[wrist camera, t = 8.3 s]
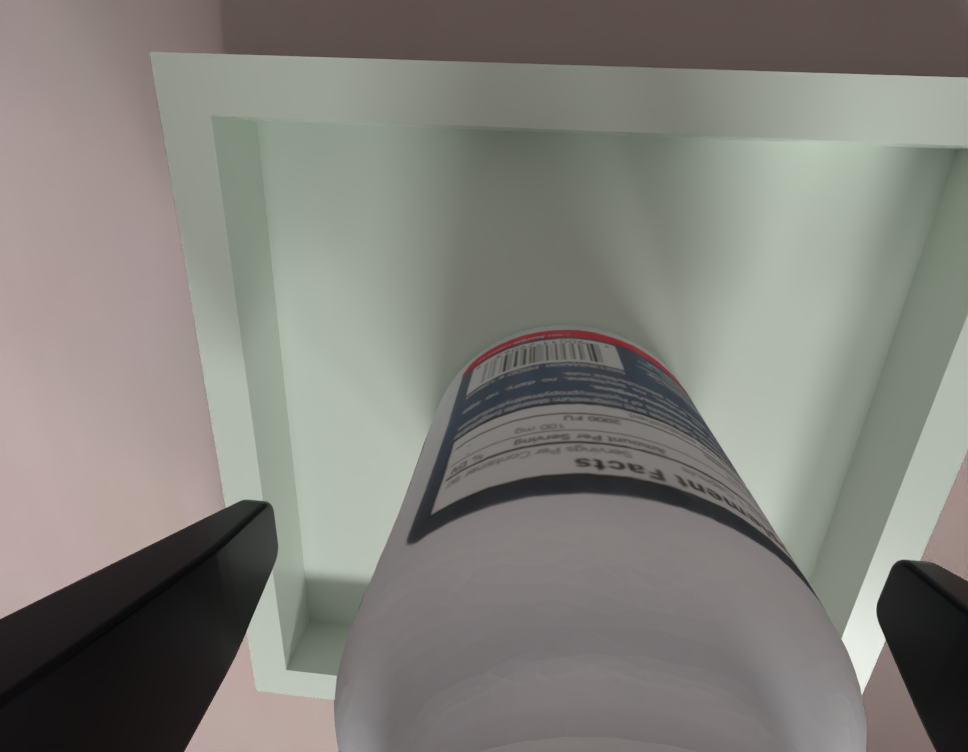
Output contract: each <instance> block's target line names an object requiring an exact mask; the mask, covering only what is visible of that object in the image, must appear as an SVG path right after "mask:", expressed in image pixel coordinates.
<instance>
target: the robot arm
mask: <svg viewBox="0 0 968 752" xmlns="http://www.w3.org/2000/svg"><path fill="white" fill-rule="evenodd" d="M277 555H278V539H277V531H276V523H275V515H274V509H273V506H272V504H270V503H269V502H267V501H259V500H248V499H245V500H241V501H239V502H237V503H235V504H233V505H231V506H229V507H227V508H225V509H223V510H221V511H219V512H217V513H215V514H213V515H210V516H208V517H206V518H204V519H202V520H200V521H198V522H196V523H194V524H192V525H190V526H188V527H186V528H184V529H182V530H180V531H178V532H176V533H174V534H172V535H170V536H168V537H166V538H164V539H162V540H160V541H158V542H156V543H154V544H152V545H150V546H148V547H146V548H144V549H142V550H140V551H137V552H135V553H133V554H131V555H129V556H127V557H125V558H123V559H121V560H119V561H117V562H115V563H113V564H111V565H109V566H107V567H105V568H103V569H101V570H99V571H97V572H95V573H93V574H91V575H89V576H87V577H85V578H83V579H81V580H79V581H77V582H75V583H73V584H71V585H69V586H66V587H64V588H62V589H60V590H58V591H56V592H54V593H52V594H50V595H48V596H46V597H44V598H42V599H40V600H38V601H36V602H34V603H32V604H30V605H28V606H26V607H24V608H22V609H20V610H18V611H16V612H14V613H12V614H10V615H8V616H6V617H4V618H2V619H0V752H184V751H185V749H186V748H187V746H188V744H189V742H190V740H191V738H192V737H193V735H194V733H195V731H196V729H197V727H198V725H199V724H200V722H201V720H202V718H203V716H204V714H205V713H206V711H207V709H208V707H209V705H210V703H211V702H212V700H213V698H214V696H215V694H216V692H217V691H218V689H219V687H220V685H221V683H222V681H223V680H224V678H225V676H226V674H227V672H228V670H229V668H230V666H231V664H232V662H233V660H234V659H235V657H236V654H237V652H238V650H239V648H240V645H241V643H242V641H243V639H244V636H245V634H246V632H247V629H248V627H249V624H250V622H251V620H252V617H253V615H254V612H255V610H256V608H257V605H258V603H259V600H260V598H261V596H262V593H263V591H264V589H265V586H266V584H267V581H268V579H269V577H270V574H271V572H272V569H273V567H274V565H275V562H276V559H277ZM876 614H877V619H878V622H879V625H880V627H881V630H882V632H883V634H884V637H885V639H886V641H887V644H888V646H889V648H890V651H891V653H892V655H893V657H894V660H895V662H896V664H897V667H898V669H899V671H900V674H901V676H902V678H903V680H904V683H905V685H906V687H907V690H908V692H909V694H910V697H911V699H912V701H913V704H914V706H915V708H916V710H917V713H918V715H919V717H920V719H921V722H922V724H923V726H924V728H925V730H926V732H927V734H928V736H929V738H930V740H931V742H932V744H933V746H934V748H935V750H936V752H968V581H966V580H964V579H962V578H961V577H959V576H957V575H955V574H953V573H951V572H950V571H948V570H946V569H944V568H942V567H940V566H939V565H937V564H934V563H931V562H926V561H916V560H899V561H897V562H896V563H894V564H893V566H892V567H891V570H890V572H889V575H888V577H887V579H886V582H885V584H884V587H883V589H882V592H881V594H880V597H879V599H878V602H877V607H876Z"/></svg>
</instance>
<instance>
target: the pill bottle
mask: <svg viewBox="0 0 968 752" xmlns="http://www.w3.org/2000/svg"><path fill="white" fill-rule="evenodd" d="M334 713H335V729H336V737H337V743H338V749H339V752H866V743H867V723H866V715H865V710H864V704H863V699H862V694H861V689H860V685H859V682H858V678H857V675H856V672H855V669H854V666H853V664H852V661H851V658H850V656H849V653H848V651H847V649H846V647H845V645H844V643H843V641H842V639H841V638H840V636H839V634H838V632H837V630H836V629H835V627H834V625H833V623H832V621H831V619H830V618H829V616H828V614H827V612H826V610H825V608H824V607H823V605H822V604H821V602H820V600H819V599H818V597H817V596H816V594H815V592H814V591H813V589H812V588H811V586H810V584H809V583H808V581H807V579H806V578H805V576H804V575H803V573H802V572H801V570H800V569H799V567H798V566H797V564H796V563H795V561H794V560H793V558H792V557H791V555H790V553H789V552H788V550H787V548H786V547H785V545H784V544H783V543H782V541H781V540H780V538H779V537H778V535H777V534H776V532H775V531H774V529H773V527H772V526H771V524H770V523H769V521H768V519H767V518H766V516H765V515H764V513H763V511H762V510H761V508H760V507H759V505H758V504H757V502H756V500H755V499H754V497H753V496H752V494H751V493H750V491H749V490H748V488H747V487H746V485H745V483H744V482H743V480H742V479H741V477H740V476H739V474H738V473H737V471H736V470H735V468H734V466H733V465H732V463H731V461H730V460H729V458H728V457H727V455H726V454H725V452H724V451H723V449H722V448H721V446H720V444H719V443H718V441H717V440H716V438H715V437H714V435H713V434H712V432H711V431H710V429H709V427H708V426H707V424H706V423H705V421H704V419H703V418H702V416H701V415H700V413H699V412H698V410H697V408H696V407H695V405H694V403H693V402H692V400H691V398H690V397H689V395H688V393H687V392H686V390H685V389H684V388H683V387H682V386H681V384H680V383H679V381H678V380H677V379H676V377H675V376H674V375H673V373H672V372H671V371H670V370H669V369H668V368H667V367H666V366H665V365H664V364H663V363H662V362H661V361H660V360H658V359H657V358H656V357H655V356H654V355H652V354H651V353H650V352H648V351H647V350H645V349H644V348H642V347H641V346H639V345H638V344H636V343H634V342H632V341H631V340H628V339H626V338H624V337H622V336H619V335H616V334H614V333H611V332H608V331H604V330H601V329H596V328H591V327H585V326H574V325H555V326H544V327H539V328H534V329H529V330H525V331H522V332H519V333H516V334H513V335H511V336H508V337H506V338H504V339H501V340H500V341H498V342H496V343H494V344H493V345H491V346H489V347H488V348H486V349H485V350H483V351H482V352H481V353H479V354H478V355H477V356H475V357H474V358H473V359H472V360H471V361H470V362H469V363H467V364H466V365H465V366H464V368H463V369H462V370H461V371H460V372H459V373H458V374H457V375H456V377H455V378H454V379H453V381H452V382H451V383H450V385H449V386H448V388H447V390H446V392H445V393H444V395H443V397H442V399H441V401H440V404H439V406H438V408H437V410H436V413H435V416H434V418H433V421H432V424H431V426H430V429H429V431H428V434H427V437H426V439H425V442H424V444H423V447H422V450H421V453H420V456H419V459H418V462H417V464H416V467H415V470H414V473H413V476H412V479H411V481H410V484H409V487H408V490H407V492H406V495H405V498H404V501H403V503H402V506H401V508H400V511H399V514H398V516H397V518H396V521H395V523H394V525H393V528H392V530H391V533H390V535H389V538H388V540H387V543H386V545H385V547H384V549H383V552H382V554H381V556H380V559H379V561H378V564H377V566H376V569H375V571H374V574H373V576H372V578H371V581H370V583H369V586H368V588H367V590H366V592H365V594H364V596H363V598H362V601H361V603H360V606H359V609H358V612H357V614H356V617H355V619H354V622H353V625H352V627H351V630H350V633H349V635H348V638H347V641H346V645H345V648H344V651H343V654H342V658H341V661H340V666H339V670H338V675H337V680H336V690H335V700H334Z"/></svg>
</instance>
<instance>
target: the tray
mask: <svg viewBox="0 0 968 752" xmlns="http://www.w3.org/2000/svg"><path fill="white" fill-rule="evenodd" d="M149 53H150V59H151V65H152V71H153V77H154V83H155V89H156V95H157V101H158V107H159V113H160V119H161V125H162V131H163V137H164V143H165V149H166V155H167V161H168V167H169V173H170V179H171V185H172V191H173V197H174V203H175V209H176V215H177V221H178V227H179V233H180V239H181V244H182V250H183V256H184V262H185V268H186V274H187V280H188V286H189V292H190V298H191V304H192V310H193V316H194V322H195V328H196V334H197V340H198V346H199V352H200V358H201V364H202V370H203V376H204V382H205V388H206V394H207V400H208V406H209V412H210V418H211V424H212V430H213V436H214V442H215V448H216V454H217V459H218V465H219V471H220V477H221V483H222V489H223V495H224V501H225V507H226V508H227V507H229V506H231V505H233V504H235V503H237V502H239V501H241V500H245V499H248V500H259V501H267V502H269V503H270V504H272V506H273V509H274V515H275V523H276V531H277V539H278V555H277V559H276V562H275V565H274V567H273V569H272V572H271V574H270V577H269V579H268V581H267V584H266V586H265V589H264V591H263V593H262V596H261V598H260V600H259V603H258V605H257V608H256V610H255V612H254V615H253V617H252V620H251V622H250V624H249V627H248V629H247V632H246V633H247V639H248V645H249V651H250V657H251V663H252V669H253V674H254V680H255V686H256V691H261V692H270V693H278V694H287V695H295V696H304V697H313V698H321V699H330V700H335V690H336V680H337V675H338V670H339V666H340V661H341V658H342V654H343V651H344V648H345V645H346V641H347V638H348V635H349V633H350V630H351V627H352V625H353V622H354V619H355V617H356V614H357V612H358V609H359V606H360V603H361V601H362V598H363V596H364V594H365V592H366V590H367V588H368V586H369V583H370V581H371V578H372V576H373V574H374V571H375V569H376V566H377V564H378V561H379V559H380V556H381V554H382V552H383V549H384V547H385V545H386V543H387V540H388V538H389V535H390V533H391V530H392V528H393V525H394V523H395V521H396V518H397V516H398V514H399V511H400V508H401V506H402V503H403V501H404V498H405V495H406V492H407V490H408V487H409V484H410V481H411V479H412V476H413V473H414V470H415V467H416V464H417V462H418V459H419V456H420V453H421V450H422V447H423V444H424V442H425V439H426V437H427V434H428V431H429V429H430V426H431V424H432V421H433V418H434V416H435V413H436V410H437V408H438V406H439V404H440V401H441V399H442V397H443V395H444V393H445V392H446V390H447V388H448V386H449V385H450V383H451V382H452V381H453V379H454V378H455V377H456V375H457V374H458V373H459V372H460V371H461V370H462V369H463V368H464V366H465V365H466V364H467V363H469V362H470V361H471V360H472V359H473V358H474V357H475V356H477V355H478V354H479V353H481V352H482V351H483V350H485V349H486V348H488V347H489V346H491V345H493V344H494V343H496V342H498V341H500V340H501V339H504V338H506V337H508V336H511V335H513V334H516V333H519V332H522V331H525V330H529V329H534V328H539V327H544V326H555V325H574V326H585V327H591V328H596V329H601V330H604V331H608V332H611V333H614V334H616V335H619V336H622V337H624V338H626V339H628V340H631V341H632V342H634V343H636V344H638V345H639V346H641V347H642V348H644V349H645V350H647V351H648V352H650V353H651V354H652V355H654V356H655V357H656V358H657V359H658V360H660V361H661V362H662V363H663V364H664V365H665V366H666V367H667V368H668V369H669V370H670V371H671V372H672V373H673V375H674V376H675V377H676V379H677V380H678V381H679V383H680V384H681V386H682V387H683V388H684V389H685V390H686V392H687V393H688V395H689V397H690V398H691V400H692V402H693V403H694V405H695V407H696V408H697V410H698V412H699V413H700V415H701V416H702V418H703V419H704V421H705V423H706V424H707V426H708V427H709V429H710V431H711V432H712V434H713V435H714V437H715V438H716V440H717V441H718V443H719V444H720V446H721V448H722V449H723V451H724V452H725V454H726V455H727V457H728V458H729V460H730V461H731V463H732V465H733V466H734V468H735V470H736V471H737V473H738V474H739V476H740V477H741V479H742V480H743V482H744V483H745V485H746V487H747V488H748V490H749V491H750V493H751V494H752V496H753V497H754V499H755V500H756V502H757V504H758V505H759V507H760V508H761V510H762V511H763V513H764V515H765V516H766V518H767V519H768V521H769V523H770V524H771V526H772V527H773V529H774V531H775V532H776V534H777V535H778V537H779V538H780V540H781V541H782V543H783V544H784V545H785V547H786V548H787V550H788V552H789V553H790V555H791V557H792V558H793V560H794V561H795V563H796V564H797V566H798V567H799V569H800V570H801V572H802V573H803V575H804V576H805V578H806V579H807V581H808V583H809V584H810V586H811V588H812V589H813V591H814V592H815V594H816V596H817V597H818V599H819V600H820V602H821V604H822V605H823V607H824V608H825V610H826V612H827V614H828V616H829V618H830V619H831V621H832V623H833V625H834V627H835V629H836V630H837V632H838V634H839V636H840V638H841V639H842V641H843V643H844V645H845V647H846V649H847V651H848V653H849V656H850V658H851V661H852V664H853V666H854V669H855V672H856V675H857V678H858V682H859V685H860V689H861V694H863V692H864V689H865V687H866V685H867V682H868V680H869V678H870V675H871V673H872V671H873V668H874V666H875V664H876V661H877V659H878V657H879V655H880V652H881V650H882V648H883V645H884V643H885V641H886V639H885V637H884V634H883V632H882V630H881V627H880V625H879V622H878V619H877V614H876V607H877V602H878V599H879V597H880V594H881V592H882V589H883V587H884V584H885V582H886V579H887V577H888V575H889V572H890V570H891V567H892V566H893V564H894V563H896V562H897V561H899V560H916V561H920V560H921V557H922V555H923V553H924V550H925V548H926V546H927V543H928V541H929V539H930V536H931V534H932V532H933V529H934V527H935V525H936V522H937V520H938V518H939V516H940V513H941V511H942V509H943V506H944V504H945V502H946V499H947V497H948V495H949V492H950V490H951V488H952V485H953V483H954V481H955V478H956V476H957V474H958V471H959V469H960V467H961V465H962V462H963V460H964V458H965V455H966V453H967V451H968V78H965V77H934V76H902V75H871V74H839V73H807V72H776V71H744V70H713V69H681V68H650V67H618V66H587V65H555V64H524V63H492V62H461V61H429V60H398V59H366V58H335V57H303V56H271V55H240V54H208V53H177V52H149Z"/></svg>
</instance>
